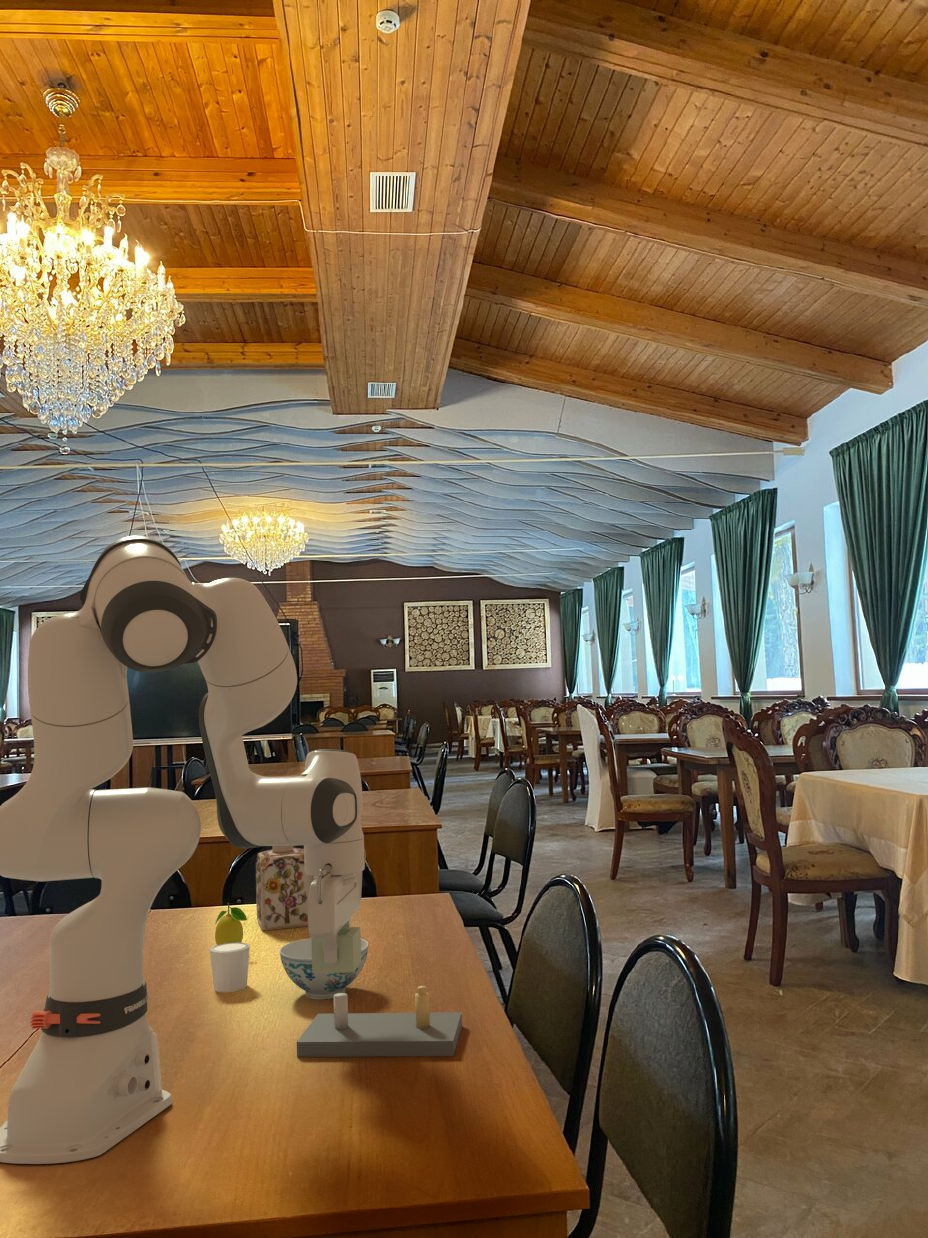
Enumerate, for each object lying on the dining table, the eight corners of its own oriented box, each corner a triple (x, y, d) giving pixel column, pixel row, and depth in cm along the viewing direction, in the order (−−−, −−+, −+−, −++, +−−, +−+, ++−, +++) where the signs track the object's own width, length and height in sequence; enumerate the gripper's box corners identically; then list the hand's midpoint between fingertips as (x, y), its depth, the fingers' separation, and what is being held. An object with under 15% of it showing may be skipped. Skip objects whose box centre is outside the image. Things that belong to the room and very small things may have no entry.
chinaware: (284, 1012, 153) (283, 963, 154) (277, 986, 168) (276, 941, 168) (377, 1000, 157) (375, 952, 158) (362, 976, 172) (360, 932, 172)
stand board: (453, 1056, 132) (451, 1000, 132) (297, 1057, 134) (295, 1001, 134) (462, 1026, 143) (460, 974, 144) (318, 1027, 145) (316, 976, 146)
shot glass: (240, 994, 164) (239, 952, 165) (203, 993, 166) (202, 951, 166) (256, 982, 171) (255, 942, 172) (221, 981, 172) (220, 941, 173)
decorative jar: (256, 921, 220) (254, 841, 222) (307, 915, 224) (305, 837, 225) (261, 932, 209) (259, 848, 210) (314, 926, 212) (312, 844, 214)
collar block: (353, 972, 137) (352, 936, 137) (312, 973, 137) (311, 937, 138) (361, 961, 143) (360, 927, 143) (321, 962, 143) (320, 928, 144)
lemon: (247, 955, 190) (246, 903, 191) (217, 959, 188) (216, 907, 188) (242, 947, 196) (241, 897, 197) (213, 951, 194) (212, 901, 195)
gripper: (341, 870, 131) (343, 974, 130) (367, 849, 151) (370, 939, 150) (295, 871, 132) (298, 975, 130) (328, 850, 152) (330, 940, 150)
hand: (337, 955), depth 140 cm, fingers closed on collar block, 6 cm apart
